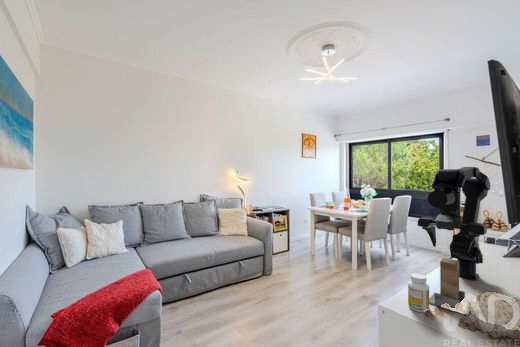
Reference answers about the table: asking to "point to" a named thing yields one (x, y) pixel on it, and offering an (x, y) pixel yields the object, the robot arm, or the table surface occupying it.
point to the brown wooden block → (449, 277)
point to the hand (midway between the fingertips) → (450, 249)
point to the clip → (446, 299)
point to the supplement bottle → (418, 293)
